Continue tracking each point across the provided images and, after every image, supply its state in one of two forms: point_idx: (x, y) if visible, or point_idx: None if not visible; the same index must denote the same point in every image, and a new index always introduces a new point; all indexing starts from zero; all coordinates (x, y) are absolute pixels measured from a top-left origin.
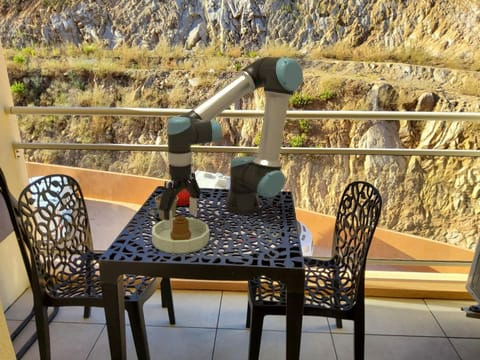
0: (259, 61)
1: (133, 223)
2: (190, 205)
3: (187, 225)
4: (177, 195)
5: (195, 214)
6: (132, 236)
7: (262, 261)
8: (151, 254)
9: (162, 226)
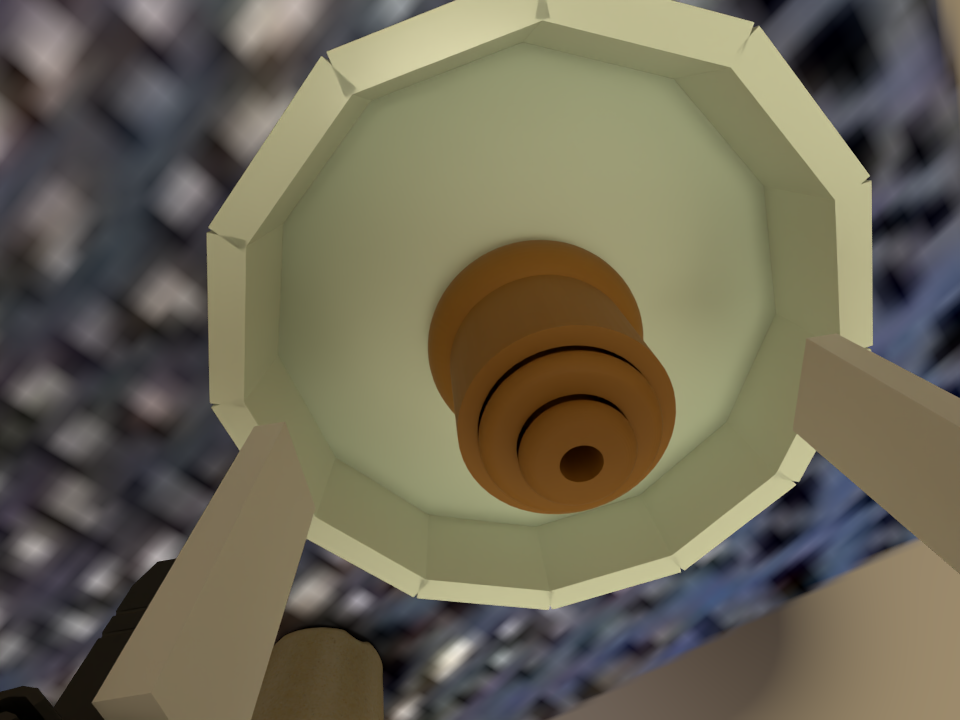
0: None
1: (555, 709)
2: (276, 610)
3: (539, 312)
4: None
5: (283, 432)
6: (702, 590)
7: None
8: None
9: (540, 555)
